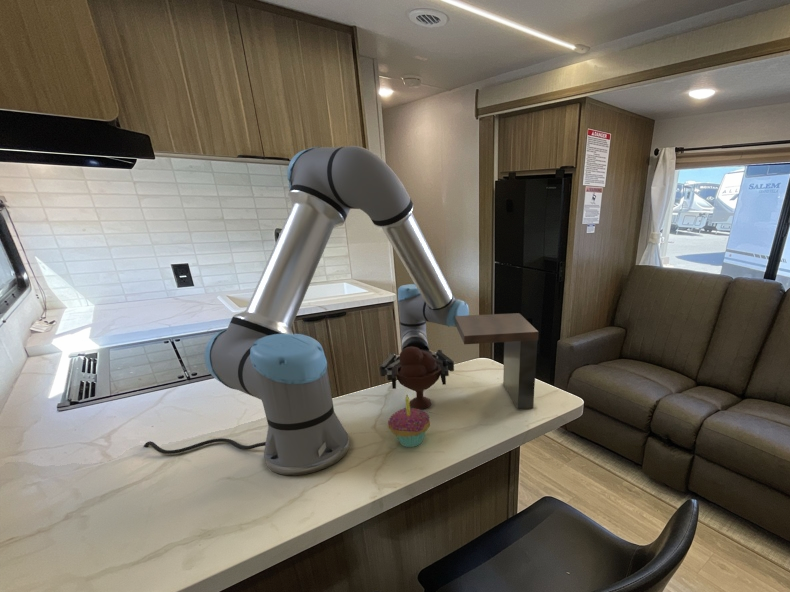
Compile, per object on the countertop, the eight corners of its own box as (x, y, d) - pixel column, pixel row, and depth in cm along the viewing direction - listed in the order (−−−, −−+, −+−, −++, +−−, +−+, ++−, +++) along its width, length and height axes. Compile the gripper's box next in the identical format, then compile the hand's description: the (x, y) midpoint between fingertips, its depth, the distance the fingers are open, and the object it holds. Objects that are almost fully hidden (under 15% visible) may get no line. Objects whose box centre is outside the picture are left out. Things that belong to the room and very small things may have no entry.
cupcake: (433, 449, 82) (430, 397, 77) (390, 455, 80) (384, 402, 75) (428, 427, 90) (425, 379, 85) (389, 432, 88) (384, 383, 83)
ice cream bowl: (419, 419, 93) (415, 359, 87) (388, 404, 99) (382, 347, 93) (451, 402, 101) (449, 346, 94) (421, 390, 107) (417, 336, 101)
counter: (465, 416, 95) (464, 335, 87) (456, 387, 109) (454, 316, 101) (533, 409, 99) (538, 331, 91) (516, 382, 113) (519, 313, 105)
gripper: (456, 358, 116) (469, 391, 97) (373, 364, 111) (368, 400, 92) (456, 333, 113) (468, 363, 94) (370, 338, 108) (364, 370, 89)
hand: (419, 381), depth 93 cm, fingers closed on ice cream bowl, 11 cm apart
